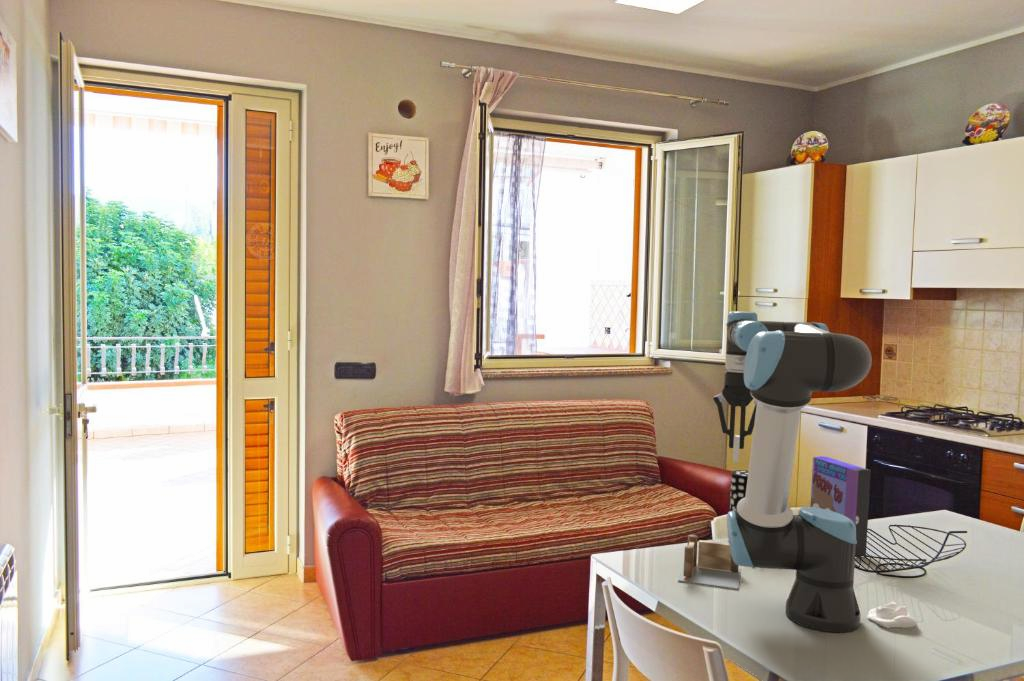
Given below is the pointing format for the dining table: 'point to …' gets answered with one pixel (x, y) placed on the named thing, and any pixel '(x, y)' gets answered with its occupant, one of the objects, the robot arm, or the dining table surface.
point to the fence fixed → (713, 555)
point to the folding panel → (689, 559)
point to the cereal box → (843, 493)
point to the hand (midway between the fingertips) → (735, 460)
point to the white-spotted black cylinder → (738, 487)
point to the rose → (891, 616)
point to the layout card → (712, 577)
